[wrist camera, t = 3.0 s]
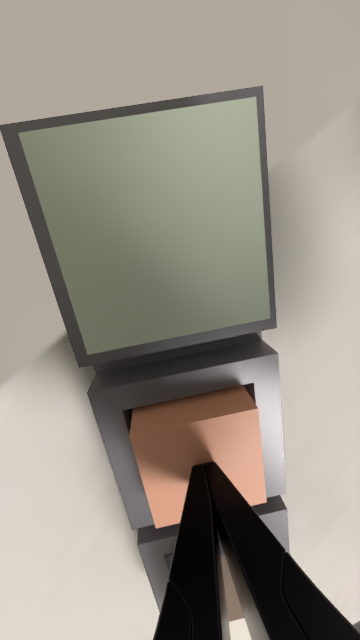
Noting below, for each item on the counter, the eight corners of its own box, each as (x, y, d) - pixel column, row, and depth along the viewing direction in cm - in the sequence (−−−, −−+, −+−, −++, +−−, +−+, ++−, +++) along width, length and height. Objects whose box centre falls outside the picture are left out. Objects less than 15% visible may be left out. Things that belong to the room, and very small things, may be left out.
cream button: (171, 567, 11) (175, 635, 9) (265, 545, 11) (289, 606, 9) (187, 624, 12) (193, 693, 10) (271, 602, 12) (292, 666, 10)
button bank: (35, 154, 8) (-2, 125, 6) (238, 123, 8) (262, 85, 6) (164, 583, 15) (166, 632, 13) (274, 555, 15) (292, 600, 13)
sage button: (60, 168, 6) (18, 132, 4) (226, 142, 6) (256, 96, 4) (104, 328, 7) (87, 355, 6) (241, 301, 8) (270, 318, 6)
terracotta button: (134, 400, 10) (129, 436, 8) (238, 378, 10) (258, 408, 8) (155, 480, 11) (155, 528, 9) (247, 459, 11) (266, 502, 9)
